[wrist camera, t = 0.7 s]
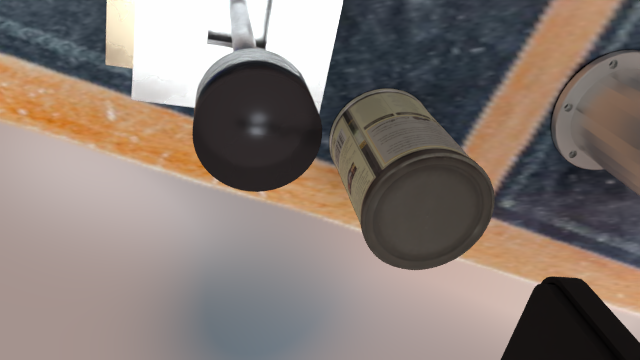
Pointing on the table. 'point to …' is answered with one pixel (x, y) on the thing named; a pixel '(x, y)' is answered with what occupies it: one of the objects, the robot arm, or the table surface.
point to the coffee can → (409, 181)
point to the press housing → (211, 44)
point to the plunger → (253, 106)
